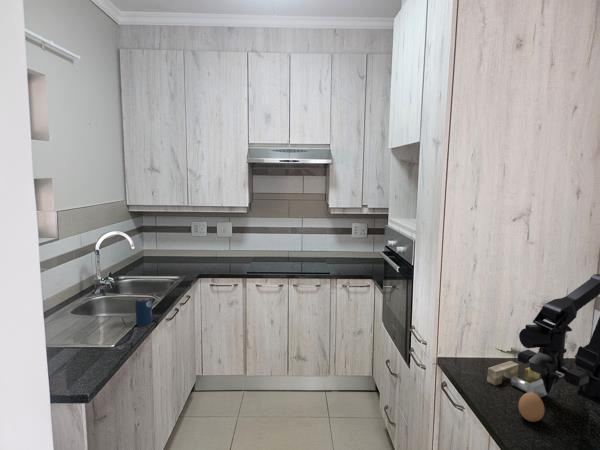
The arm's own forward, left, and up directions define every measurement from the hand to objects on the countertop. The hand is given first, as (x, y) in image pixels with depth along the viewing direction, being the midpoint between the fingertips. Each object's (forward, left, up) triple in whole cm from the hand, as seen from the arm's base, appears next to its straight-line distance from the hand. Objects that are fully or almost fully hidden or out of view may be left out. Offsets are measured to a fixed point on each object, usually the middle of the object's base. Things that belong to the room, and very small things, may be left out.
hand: (548, 392), depth 125 cm
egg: (-3, +14, -3) cm, 15 cm away
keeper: (+10, -8, -3) cm, 13 cm away
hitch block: (+15, 0, -3) cm, 16 cm away
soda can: (+121, +103, -3) cm, 159 cm away
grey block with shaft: (+8, 0, -3) cm, 9 cm away
